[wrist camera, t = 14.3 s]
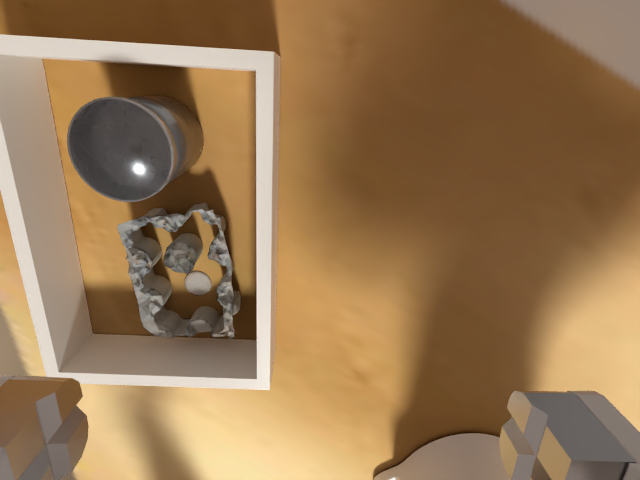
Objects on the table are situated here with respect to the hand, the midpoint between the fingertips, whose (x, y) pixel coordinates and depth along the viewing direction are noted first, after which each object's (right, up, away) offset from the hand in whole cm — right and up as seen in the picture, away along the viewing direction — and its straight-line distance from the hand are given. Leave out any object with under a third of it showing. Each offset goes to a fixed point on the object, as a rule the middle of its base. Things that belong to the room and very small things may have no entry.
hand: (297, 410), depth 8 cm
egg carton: (-10, +1, +25) cm, 27 cm away
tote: (-11, +5, +23) cm, 26 cm away
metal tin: (-11, +11, +21) cm, 26 cm away
